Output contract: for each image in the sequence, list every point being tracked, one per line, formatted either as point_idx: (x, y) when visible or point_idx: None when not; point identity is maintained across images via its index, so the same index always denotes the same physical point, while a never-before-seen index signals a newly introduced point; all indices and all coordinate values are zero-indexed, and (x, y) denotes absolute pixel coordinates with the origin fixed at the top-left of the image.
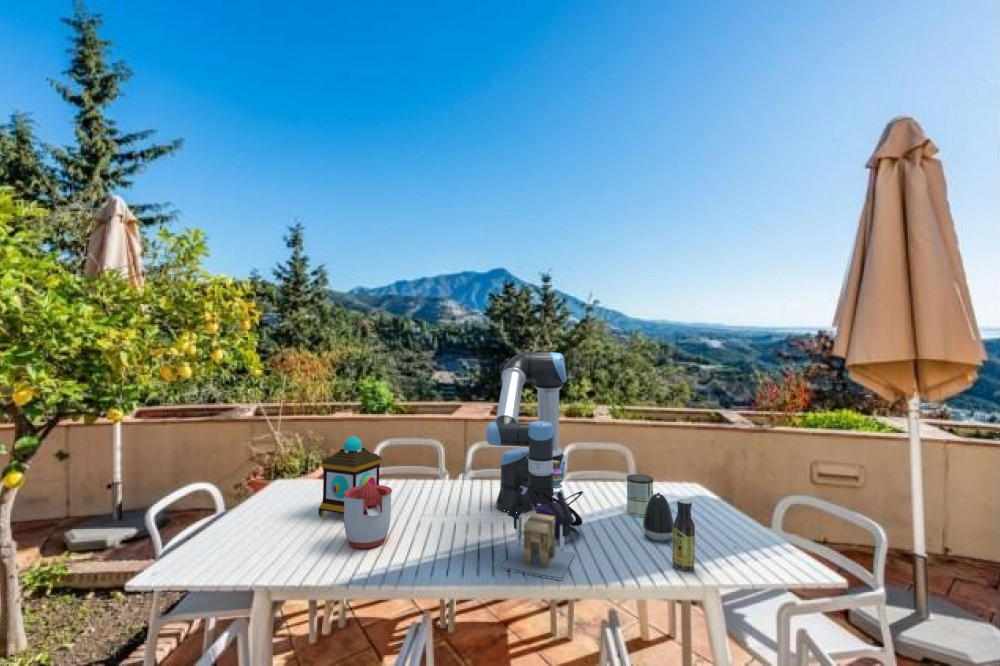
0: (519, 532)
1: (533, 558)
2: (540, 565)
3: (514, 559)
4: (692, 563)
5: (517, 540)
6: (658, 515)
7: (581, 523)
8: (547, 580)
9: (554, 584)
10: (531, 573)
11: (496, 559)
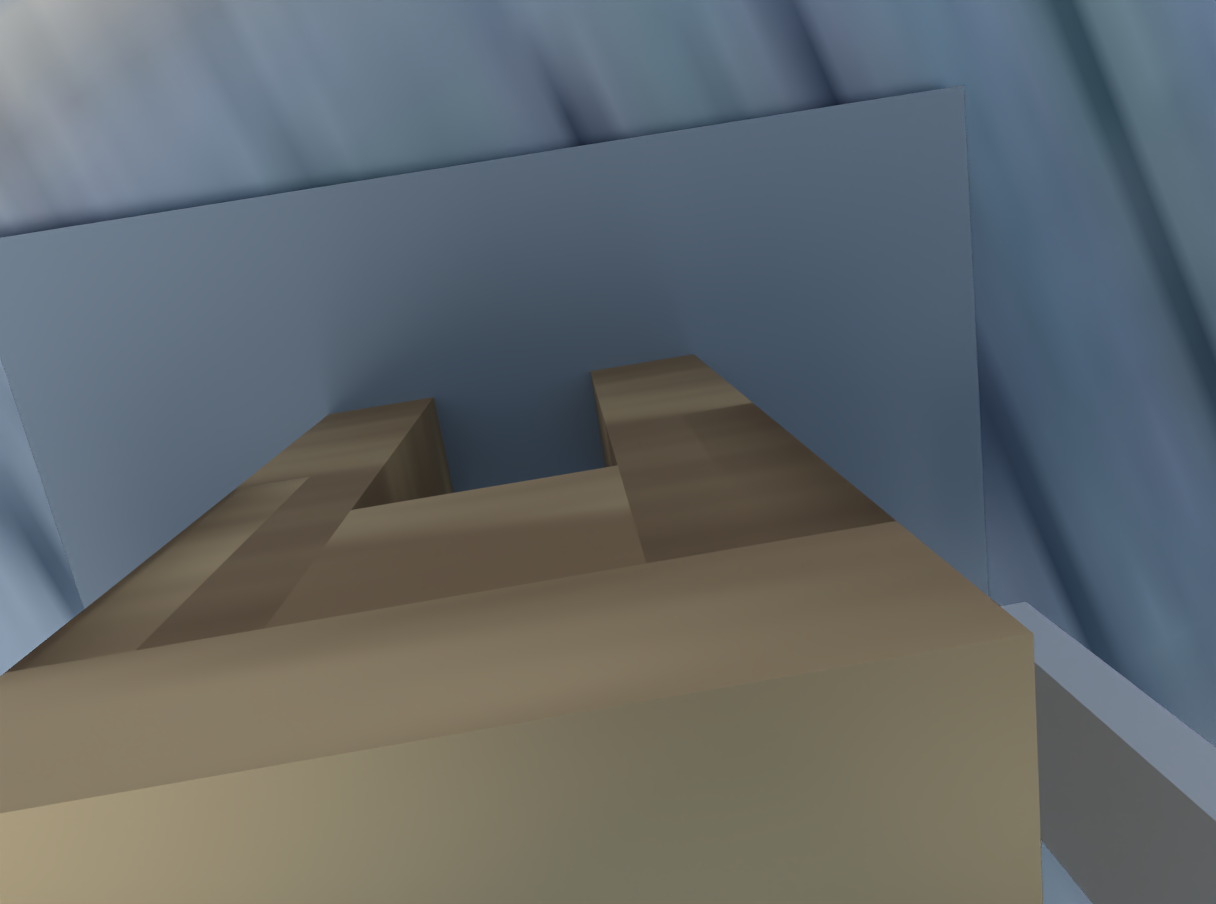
0: (1078, 748)
1: None
2: (427, 404)
3: (893, 427)
4: None
5: (1012, 612)
6: None
7: None
8: (184, 140)
9: (26, 72)
10: (470, 165)
11: (1149, 364)
